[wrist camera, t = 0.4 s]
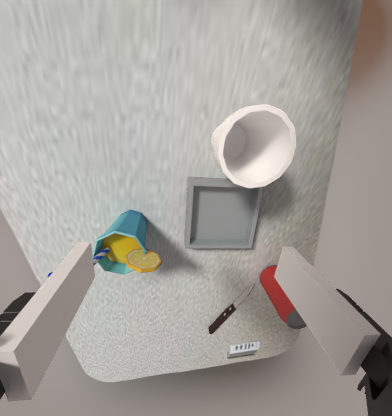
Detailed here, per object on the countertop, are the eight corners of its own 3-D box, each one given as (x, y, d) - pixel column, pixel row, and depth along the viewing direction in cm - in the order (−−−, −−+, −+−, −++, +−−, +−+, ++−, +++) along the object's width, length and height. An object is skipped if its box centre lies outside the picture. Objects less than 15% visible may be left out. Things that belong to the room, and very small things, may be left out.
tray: (188, 176, 37) (189, 181, 34) (257, 180, 38) (264, 184, 36) (184, 240, 42) (185, 248, 39) (246, 240, 44) (251, 248, 41)
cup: (95, 242, 40) (54, 304, 26) (86, 206, 37) (34, 255, 23) (165, 236, 41) (162, 292, 27) (162, 201, 38) (156, 244, 24)
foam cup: (247, 170, 37) (283, 191, 26) (199, 165, 36) (213, 185, 24) (259, 115, 34) (306, 109, 22) (206, 108, 33) (226, 97, 21)
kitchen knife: (210, 327, 54) (211, 335, 52) (207, 326, 53) (209, 334, 51) (254, 282, 49) (257, 288, 47) (251, 280, 49) (254, 286, 47)
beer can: (289, 265, 48) (324, 307, 37) (278, 286, 50) (308, 332, 39) (264, 262, 46) (293, 304, 35) (254, 283, 49) (278, 330, 38)
